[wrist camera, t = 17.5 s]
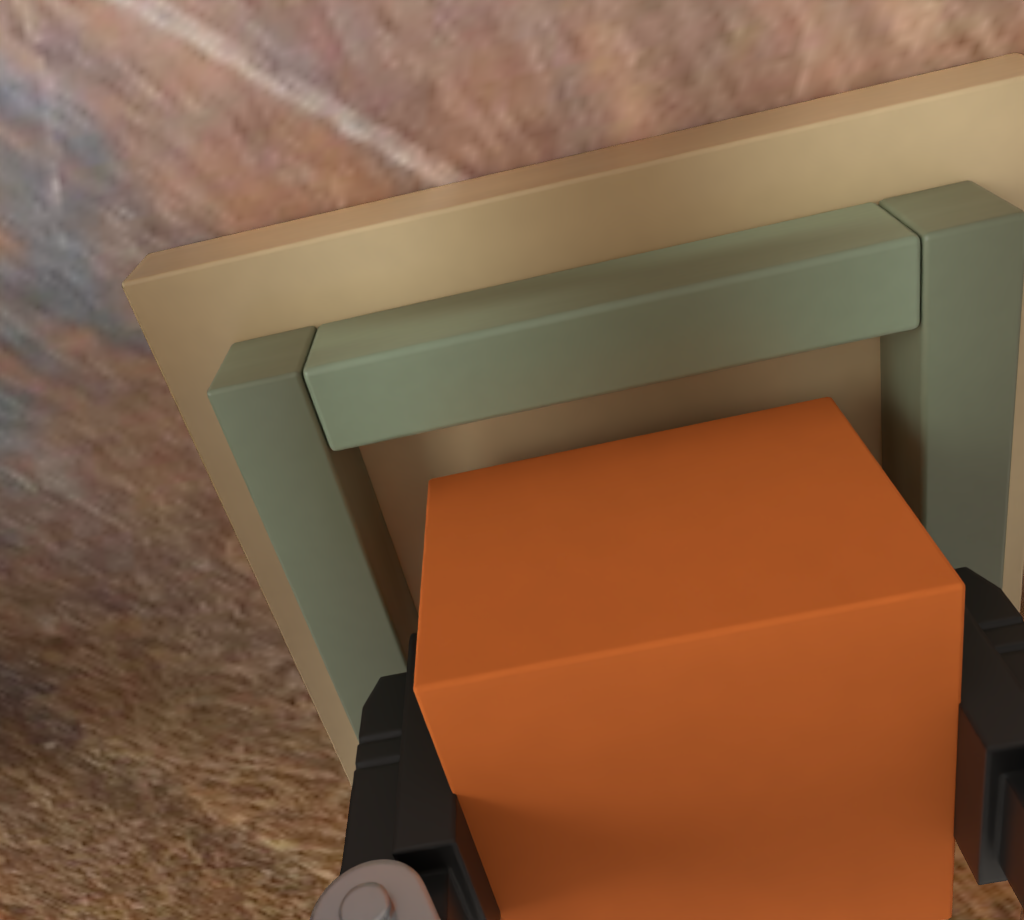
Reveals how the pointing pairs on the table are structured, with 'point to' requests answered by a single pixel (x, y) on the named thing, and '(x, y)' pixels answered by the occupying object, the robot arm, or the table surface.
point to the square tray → (607, 338)
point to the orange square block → (696, 676)
